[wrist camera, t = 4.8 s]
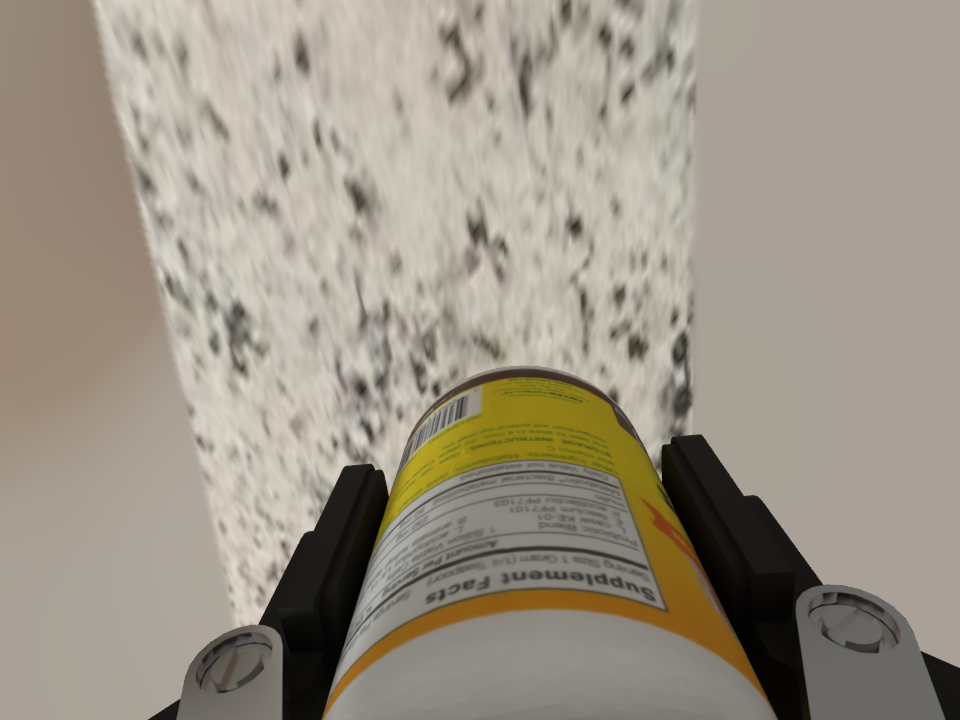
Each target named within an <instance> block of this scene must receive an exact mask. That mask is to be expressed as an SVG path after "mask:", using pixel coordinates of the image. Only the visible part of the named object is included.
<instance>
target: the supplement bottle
mask: <svg viewBox="0 0 960 720" xmlns="http://www.w3.org/2000/svg"><path fill="white" fill-rule="evenodd" d="M321 720H778V719H777V717H776V715H775V712H774V710H773V708H772V706H771V704H770V702H769V700H768V698H767V696H766V694H765V692H764V690H763V688H762V686H761V684H760V682H759V680H758V678H757V676H756V674H755V672H754V670H753V668H752V666H751V664H750V662H749V660H748V658H747V656H746V654H745V652H744V649H743V647H742V645H741V643H740V641H739V639H738V637H737V635H736V633H735V631H734V629H733V627H732V626H731V624H730V622H729V620H728V617H727V615H726V613H725V611H724V609H723V607H722V605H721V603H720V601H719V599H718V597H717V595H716V593H715V591H714V588H713V586H712V584H711V582H710V580H709V578H708V576H707V574H706V572H705V570H704V568H703V566H702V564H701V562H700V560H699V558H698V556H697V554H696V552H695V549H694V547H693V545H692V543H691V541H690V539H689V537H688V536H687V534H686V531H685V529H684V527H683V524H682V522H681V521H680V519H679V517H678V515H677V513H676V511H675V509H674V507H673V504H672V502H671V501H670V499H669V497H668V495H667V493H666V491H665V488H664V486H663V484H662V482H661V480H660V478H659V476H658V474H657V472H656V470H655V468H654V466H653V464H652V462H651V460H650V458H649V456H648V453H647V451H646V449H645V447H644V445H643V443H642V441H641V440H640V438H639V436H638V434H637V432H636V430H635V429H634V427H633V425H632V424H631V422H630V420H629V419H628V417H627V416H626V415H625V413H624V412H623V411H622V410H621V408H620V407H619V406H618V405H617V404H616V403H615V402H614V401H613V400H612V399H611V398H610V397H609V396H608V395H606V394H605V393H604V392H603V391H601V390H600V389H598V388H597V387H596V386H594V385H592V384H591V383H589V382H587V381H585V380H583V379H581V378H579V377H577V376H575V375H572V374H569V373H566V372H563V371H560V370H556V369H552V368H546V367H539V366H510V367H502V368H497V369H492V370H489V371H485V372H482V373H479V374H476V375H474V376H471V377H469V378H467V379H465V380H463V381H461V382H459V383H457V384H456V385H454V386H452V387H451V388H450V389H448V390H447V391H445V392H444V393H443V394H442V395H440V396H439V397H438V398H437V399H436V400H435V401H434V402H433V403H432V404H431V405H430V406H429V407H428V408H427V409H426V411H425V412H424V413H423V414H422V416H421V417H420V419H419V420H418V422H417V423H416V425H415V427H414V429H413V431H412V433H411V435H410V437H409V439H408V442H407V444H406V447H405V449H404V452H403V456H402V459H401V462H400V465H399V469H398V472H397V475H396V478H395V481H394V483H393V486H392V490H391V493H390V496H389V500H388V503H387V506H386V510H385V513H384V516H383V520H382V523H381V525H380V528H379V532H378V535H377V538H376V541H375V544H374V548H373V551H372V555H371V558H370V561H369V563H368V567H367V571H366V575H365V578H364V581H363V585H362V588H361V591H360V594H359V598H358V601H357V604H356V608H355V611H354V614H353V617H352V621H351V624H350V627H349V630H348V633H347V637H346V641H345V644H344V647H343V650H342V653H341V656H340V660H339V663H338V666H337V669H336V673H335V676H334V679H333V683H332V686H331V689H330V693H329V696H328V700H327V703H326V707H325V710H324V713H323V716H322V719H321Z"/></svg>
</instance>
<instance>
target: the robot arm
mask: <svg viewBox="0 0 960 720" xmlns="http://www.w3.org/2000/svg"><path fill="white" fill-rule="evenodd" d="M662 484H663V486H664V488H665V491H666V493H667V495H668V497H669V499H670V501H671V502H672V504H673V507H674V509H675V511H676V513H677V515H678V517H679V519H680V521H681V522H682V524H683V527H684V529H685V531H686V534H687V536H688V537H689V539H690V541H691V543H692V545H693V547H694V549H695V552H696V554H697V556H698V558H699V560H700V562H701V564H702V566H703V568H704V570H705V572H706V574H707V576H708V578H709V580H710V582H711V584H712V586H713V588H714V591H715V593H716V595H717V597H718V599H719V601H720V603H721V605H722V607H723V609H724V611H725V613H726V615H727V617H728V620H729V622H730V624H731V626H732V627H733V629H734V631H735V633H736V635H737V637H738V639H739V641H740V643H741V645H742V647H743V649H744V652H745V654H746V656H747V658H748V660H749V662H750V664H751V666H752V668H753V670H754V672H755V674H756V676H757V678H758V680H759V682H760V684H761V686H762V688H763V690H764V692H765V694H766V696H767V698H768V700H769V702H770V704H771V706H772V708H773V710H774V712H775V715H776V717H777V719H778V720H960V668H958V667H956V666H954V665H951V664H949V663H947V662H945V661H942V660H940V659H938V658H936V657H933V656H931V655H929V654H926V653H924V652H922V651H920V649H919V646H918V643H917V641H916V638H915V635H914V632H913V630H912V628H911V627H910V625H909V623H908V622H907V620H906V619H905V617H904V616H903V615H902V614H901V613H900V612H898V611H897V610H896V609H895V608H894V607H893V606H892V605H890V604H889V603H887V602H885V601H884V600H882V599H881V598H879V597H877V596H875V595H873V594H870V593H868V592H865V591H863V590H860V589H856V588H852V587H848V586H844V585H823V584H822V582H821V581H820V580H819V578H818V577H817V575H816V574H815V573H814V571H813V570H812V569H811V567H810V566H809V564H808V563H807V562H806V560H805V559H804V558H803V556H802V555H801V554H800V552H799V551H798V549H797V548H796V547H795V545H794V544H793V542H792V541H791V540H790V538H789V537H788V536H787V534H786V533H785V532H784V530H783V529H782V528H781V526H780V525H779V523H778V522H777V520H776V519H775V518H774V517H773V515H772V514H771V512H770V511H769V510H768V508H767V507H766V505H765V504H764V503H763V502H762V500H761V499H760V498H759V497H758V496H754V495H751V496H743V494H742V492H741V491H740V489H739V488H738V487H737V485H736V484H735V482H734V481H733V479H732V478H731V477H730V475H729V473H728V472H727V470H726V469H725V468H724V466H723V465H722V463H721V462H720V460H719V459H718V457H717V456H716V455H715V453H714V452H713V450H712V449H711V447H710V446H709V444H708V443H707V441H706V440H705V439H704V437H703V436H702V435H700V434H699V435H688V436H676V437H672V438H671V444H666V445H663V446H662ZM388 500H389V495H388V490H387V485H386V480H385V476H384V473H383V471H382V470H375V468H374V466H373V465H372V464H362V465H351V466H345V467H344V468H343V470H342V472H341V474H340V476H339V478H338V481H337V483H336V485H335V487H334V489H333V491H332V493H331V495H330V497H329V500H328V502H327V504H326V506H325V508H324V510H323V512H322V514H321V516H320V519H319V521H318V523H317V525H316V527H315V529H314V531H308V532H306V533H304V535H303V536H302V538H301V540H300V542H299V544H298V546H297V548H296V550H295V552H294V554H293V556H292V558H291V560H290V562H289V564H288V566H287V568H286V570H285V572H284V574H283V576H282V578H281V580H280V582H279V584H278V586H277V588H276V590H275V592H274V594H273V596H272V598H271V600H270V602H269V604H268V606H267V608H266V610H265V612H264V614H263V616H262V618H261V620H260V622H259V624H258V625H249V626H244V627H239V628H236V629H234V630H231V631H229V632H227V633H224V634H222V635H221V636H219V637H218V638H216V639H215V640H213V641H211V642H210V643H209V644H208V645H207V646H206V647H205V648H203V649H202V650H201V651H200V652H199V653H198V654H197V656H196V657H195V658H194V660H193V661H192V663H191V664H190V665H189V668H188V671H187V674H186V676H185V680H184V685H183V690H182V695H181V699H179V700H177V701H176V702H175V703H173V704H171V705H170V706H168V707H167V708H165V709H164V710H162V711H161V712H159V713H158V714H156V715H155V716H153V717H151V718H150V719H148V720H321V719H322V716H323V713H324V710H325V707H326V703H327V700H328V696H329V693H330V689H331V686H332V683H333V679H334V676H335V673H336V669H337V666H338V663H339V660H340V656H341V653H342V650H343V647H344V644H345V641H346V637H347V633H348V630H349V627H350V624H351V621H352V617H353V614H354V611H355V608H356V604H357V601H358V598H359V594H360V591H361V588H362V585H363V581H364V578H365V575H366V571H367V567H368V563H369V561H370V558H371V555H372V551H373V548H374V544H375V541H376V538H377V535H378V532H379V528H380V525H381V523H382V520H383V516H384V513H385V510H386V506H387V503H388Z"/></svg>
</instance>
